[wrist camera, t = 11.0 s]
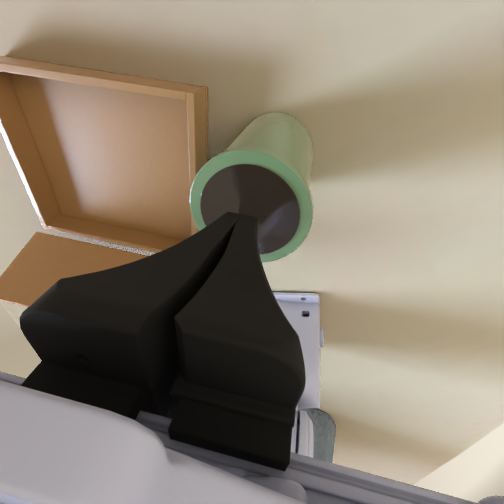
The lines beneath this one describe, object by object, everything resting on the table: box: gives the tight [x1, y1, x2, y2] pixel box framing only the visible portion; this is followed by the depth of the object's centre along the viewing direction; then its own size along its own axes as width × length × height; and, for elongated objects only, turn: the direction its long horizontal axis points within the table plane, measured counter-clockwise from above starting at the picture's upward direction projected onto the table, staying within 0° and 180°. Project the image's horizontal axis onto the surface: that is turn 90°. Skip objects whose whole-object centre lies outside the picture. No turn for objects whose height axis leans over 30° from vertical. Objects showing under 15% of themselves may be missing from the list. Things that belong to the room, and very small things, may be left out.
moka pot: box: [297, 408, 336, 463], centre depth 35 cm, size 10×15×20 cm, turn 30°
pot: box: [190, 112, 313, 262], centre depth 16 cm, size 6×6×9 cm
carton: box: [0, 56, 208, 253], centre depth 22 cm, size 13×15×2 cm
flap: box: [0, 232, 148, 307], centre depth 23 cm, size 6×15×1 cm
